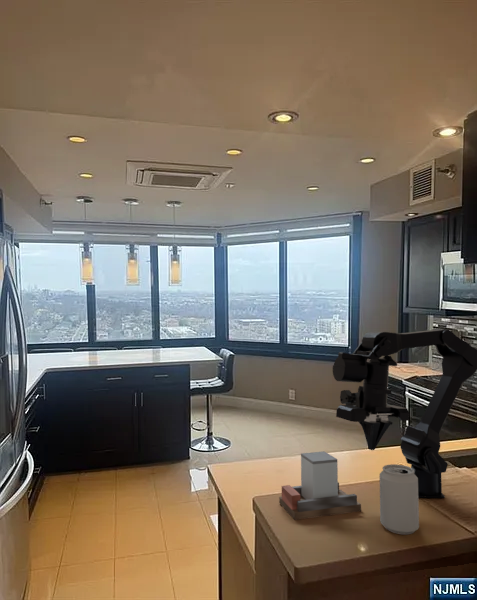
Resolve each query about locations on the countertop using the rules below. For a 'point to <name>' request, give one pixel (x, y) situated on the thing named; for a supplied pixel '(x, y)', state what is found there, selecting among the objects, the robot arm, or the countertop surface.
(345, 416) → the robot arm
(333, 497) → the grey rail holder
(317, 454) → the grey rectangular box
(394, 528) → the can
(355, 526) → the countertop surface
